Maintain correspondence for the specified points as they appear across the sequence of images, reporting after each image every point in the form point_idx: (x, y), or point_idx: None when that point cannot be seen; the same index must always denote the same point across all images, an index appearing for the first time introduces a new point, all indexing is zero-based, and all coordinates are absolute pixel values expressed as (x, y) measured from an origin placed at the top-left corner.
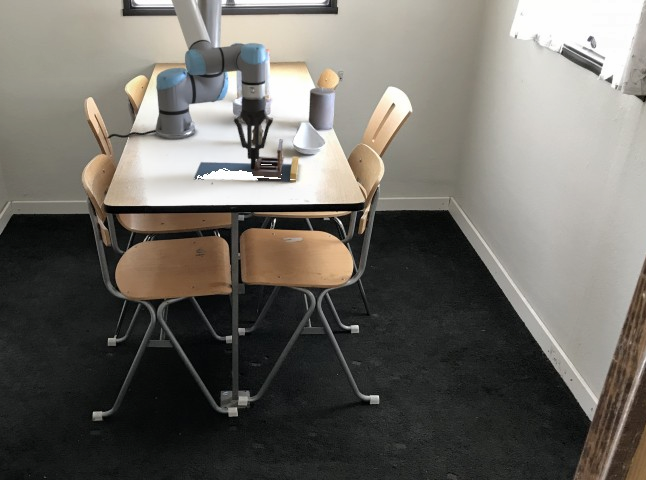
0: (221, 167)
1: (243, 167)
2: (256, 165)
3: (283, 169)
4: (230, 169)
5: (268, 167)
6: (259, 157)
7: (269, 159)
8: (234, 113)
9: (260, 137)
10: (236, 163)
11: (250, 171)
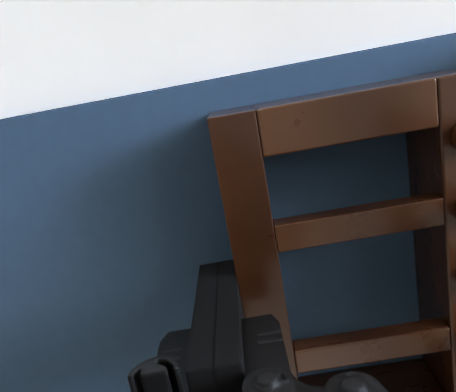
0: None
1: (114, 202)
2: None
3: None
4: (30, 268)
5: (376, 360)
6: (236, 144)
7: (340, 141)
8: None
9: None
10: (20, 125)
11: (197, 269)
